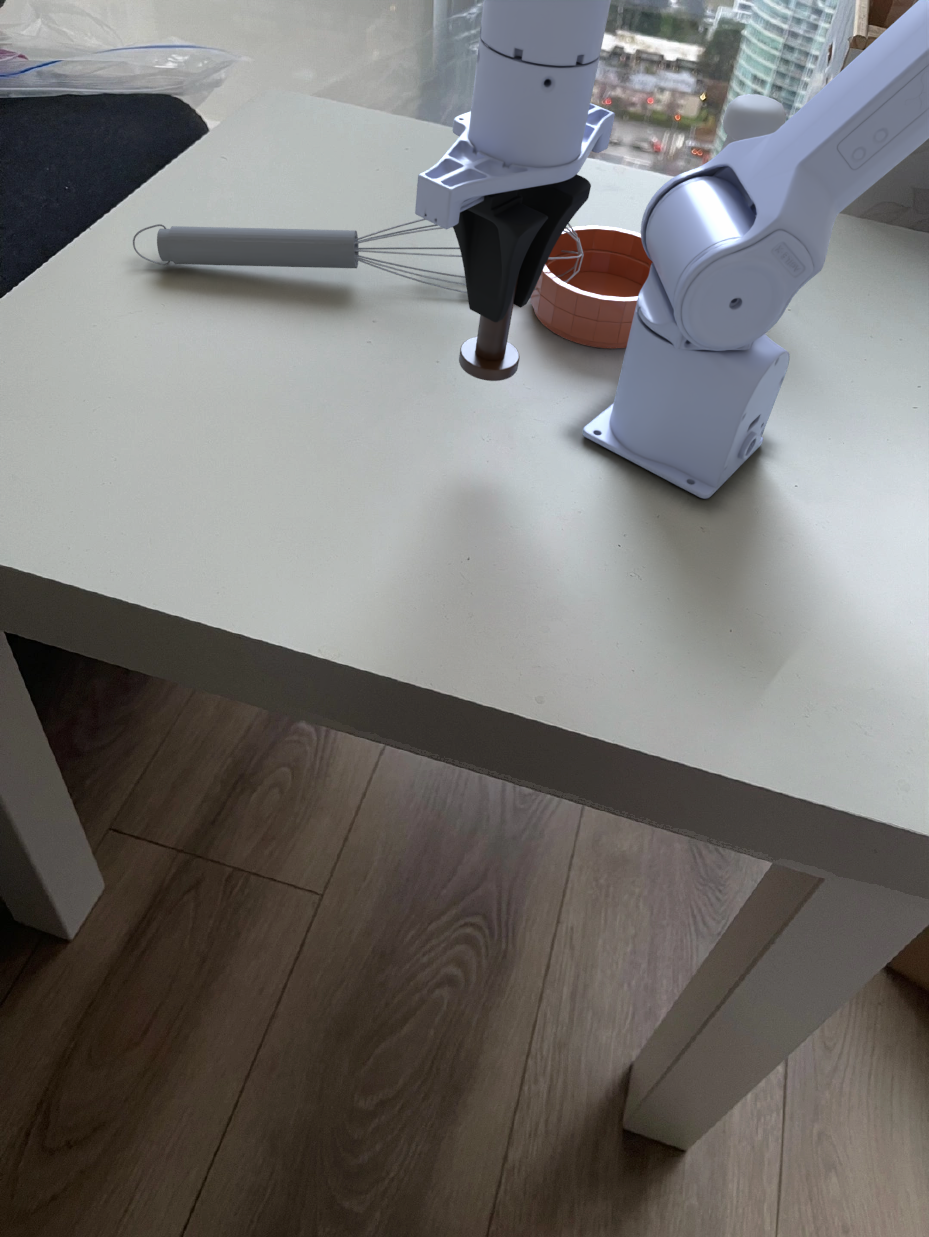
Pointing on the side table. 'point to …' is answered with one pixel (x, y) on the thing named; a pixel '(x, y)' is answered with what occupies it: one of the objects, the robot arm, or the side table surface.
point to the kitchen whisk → (292, 248)
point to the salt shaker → (752, 117)
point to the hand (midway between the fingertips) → (498, 306)
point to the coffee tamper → (491, 350)
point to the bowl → (593, 286)
